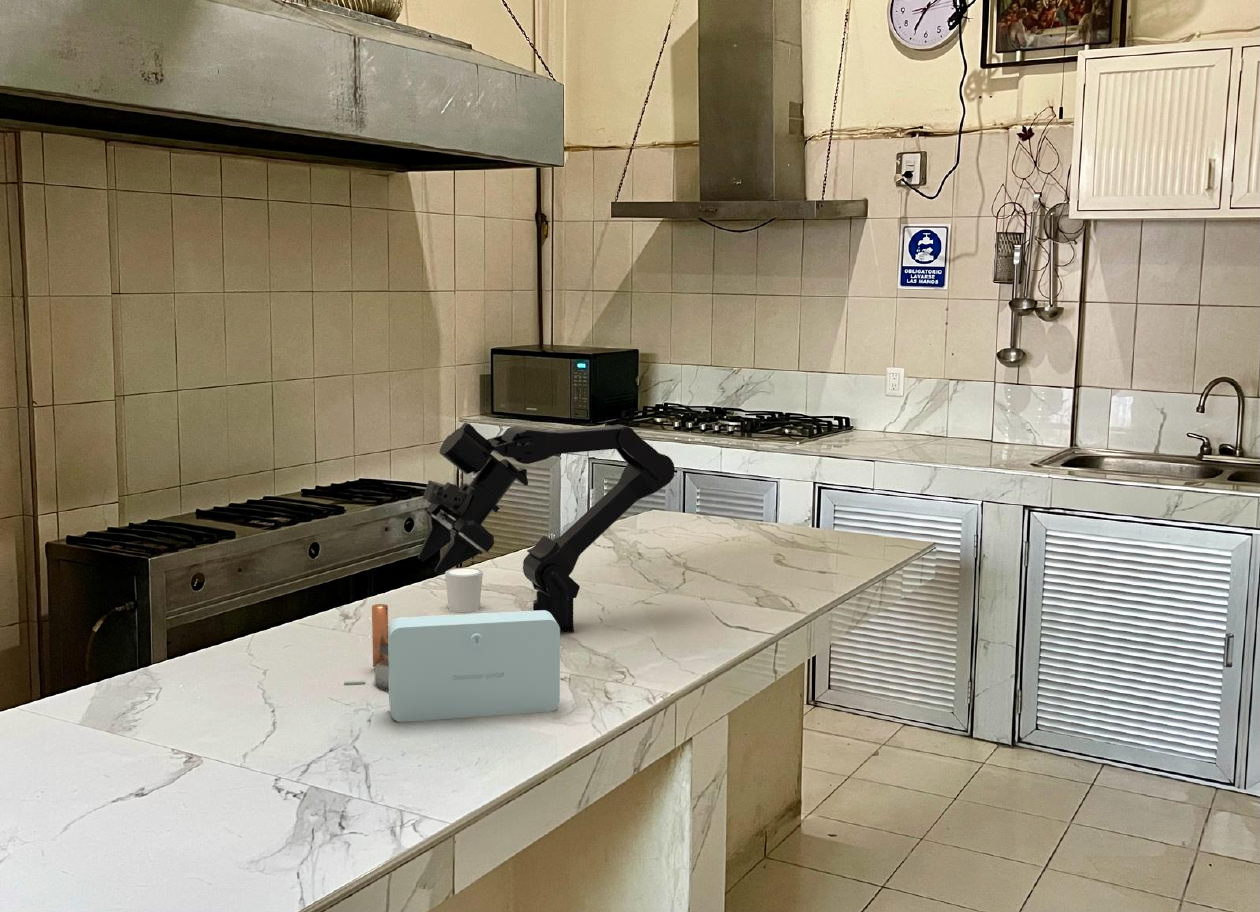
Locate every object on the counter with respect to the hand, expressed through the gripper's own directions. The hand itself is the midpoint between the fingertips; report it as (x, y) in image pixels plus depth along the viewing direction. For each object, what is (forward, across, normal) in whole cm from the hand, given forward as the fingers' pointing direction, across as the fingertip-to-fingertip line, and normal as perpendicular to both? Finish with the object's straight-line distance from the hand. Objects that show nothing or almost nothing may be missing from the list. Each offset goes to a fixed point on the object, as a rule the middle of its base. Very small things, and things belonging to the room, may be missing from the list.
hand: (428, 566), depth 199 cm
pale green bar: (+20, +16, -4) cm, 26 cm away
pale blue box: (+12, +34, +5) cm, 36 cm away
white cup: (+3, -18, +18) cm, 26 cm away
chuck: (+15, +18, +2) cm, 24 cm away
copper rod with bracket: (+16, +13, 0) cm, 20 cm away
